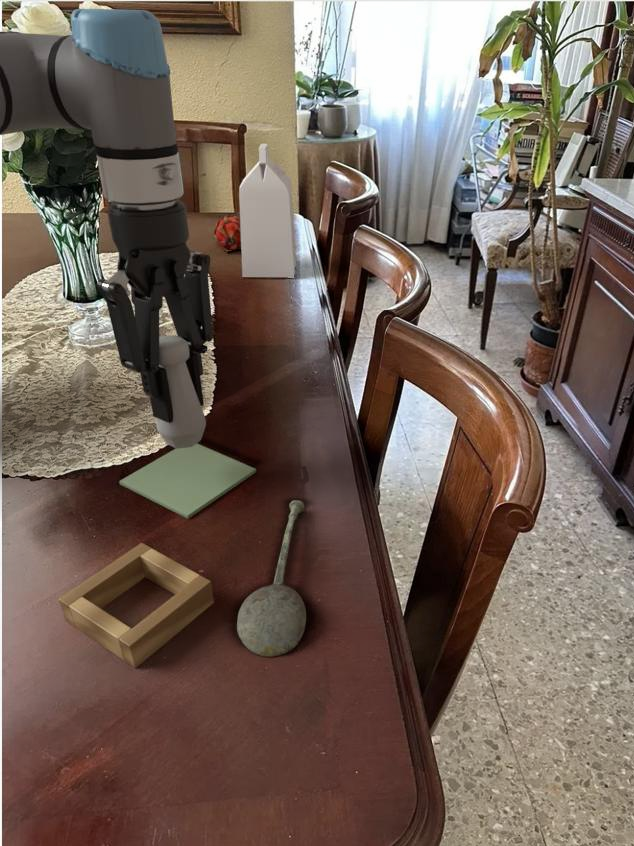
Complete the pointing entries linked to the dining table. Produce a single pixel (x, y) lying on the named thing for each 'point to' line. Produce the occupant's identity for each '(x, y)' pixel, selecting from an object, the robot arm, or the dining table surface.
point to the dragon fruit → (228, 233)
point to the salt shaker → (180, 396)
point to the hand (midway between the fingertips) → (179, 410)
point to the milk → (267, 220)
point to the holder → (156, 628)
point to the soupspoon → (274, 608)
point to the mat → (188, 479)
